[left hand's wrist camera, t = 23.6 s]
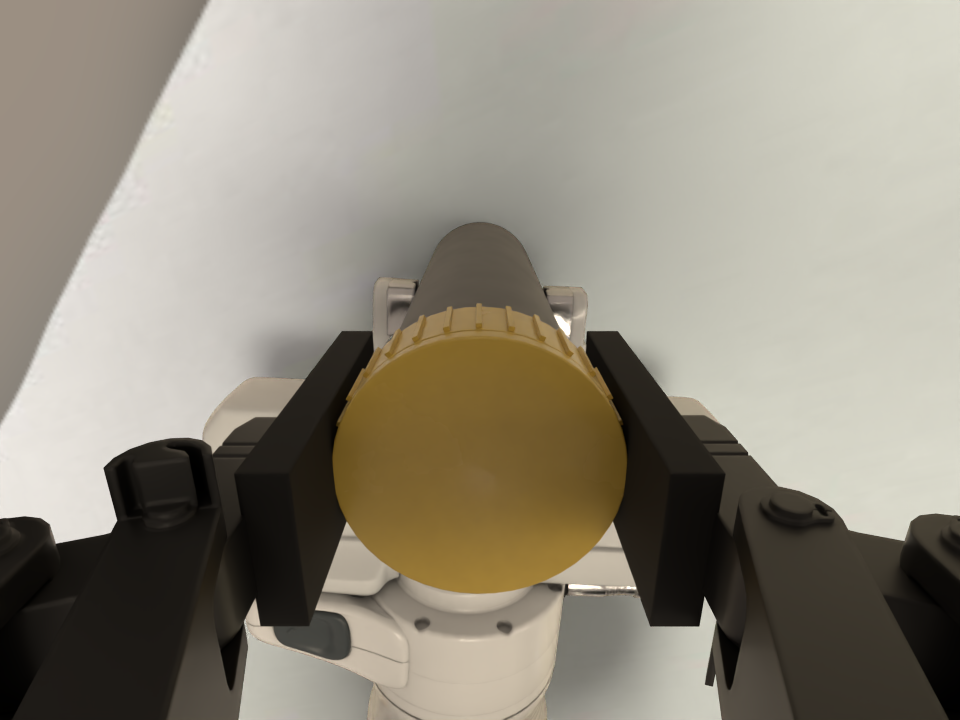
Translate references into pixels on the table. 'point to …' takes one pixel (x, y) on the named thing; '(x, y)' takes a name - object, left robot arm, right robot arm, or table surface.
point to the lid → (479, 452)
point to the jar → (479, 276)
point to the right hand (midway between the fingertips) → (479, 284)
